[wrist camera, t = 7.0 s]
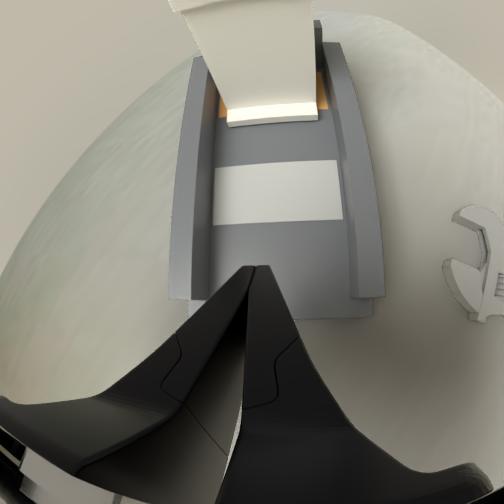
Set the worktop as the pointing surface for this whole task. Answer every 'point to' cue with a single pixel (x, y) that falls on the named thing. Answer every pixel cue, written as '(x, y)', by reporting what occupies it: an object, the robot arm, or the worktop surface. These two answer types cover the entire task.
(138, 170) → the worktop surface
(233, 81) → the switch tab
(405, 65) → the worktop surface
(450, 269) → the adjustable wrench
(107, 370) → the worktop surface
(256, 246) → the switch housing
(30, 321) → the worktop surface
